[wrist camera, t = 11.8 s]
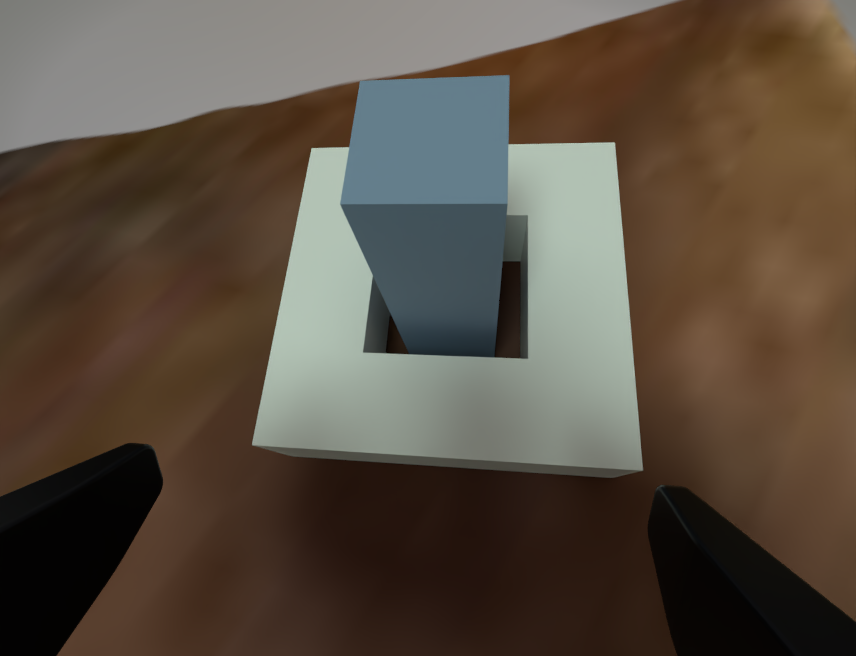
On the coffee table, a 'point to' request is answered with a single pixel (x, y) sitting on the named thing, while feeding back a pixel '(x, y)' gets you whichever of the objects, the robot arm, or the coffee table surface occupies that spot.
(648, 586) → the coffee table surface
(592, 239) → the socket block
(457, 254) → the peg
